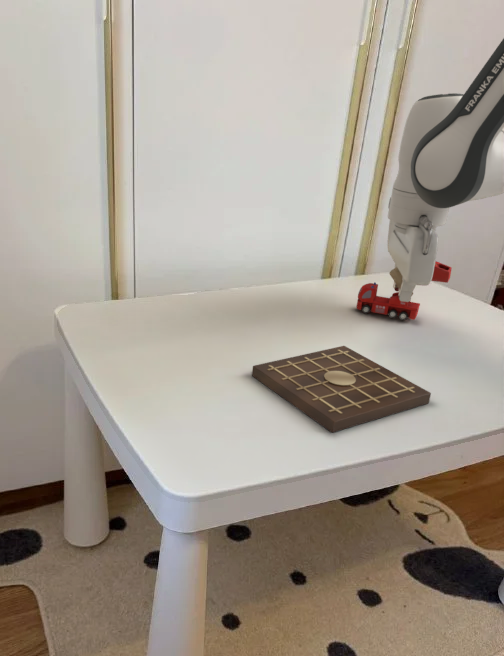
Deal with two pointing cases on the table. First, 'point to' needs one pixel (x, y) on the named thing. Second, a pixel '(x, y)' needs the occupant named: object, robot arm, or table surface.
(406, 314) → the toy fire truck
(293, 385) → the board
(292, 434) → the table surface
